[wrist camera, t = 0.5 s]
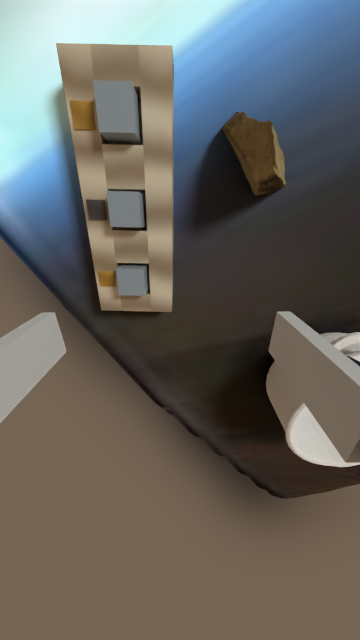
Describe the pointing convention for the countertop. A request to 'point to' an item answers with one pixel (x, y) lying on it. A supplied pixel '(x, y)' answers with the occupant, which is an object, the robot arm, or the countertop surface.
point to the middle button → (126, 209)
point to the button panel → (125, 166)
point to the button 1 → (117, 111)
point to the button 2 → (132, 279)
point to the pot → (296, 416)
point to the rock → (257, 152)
